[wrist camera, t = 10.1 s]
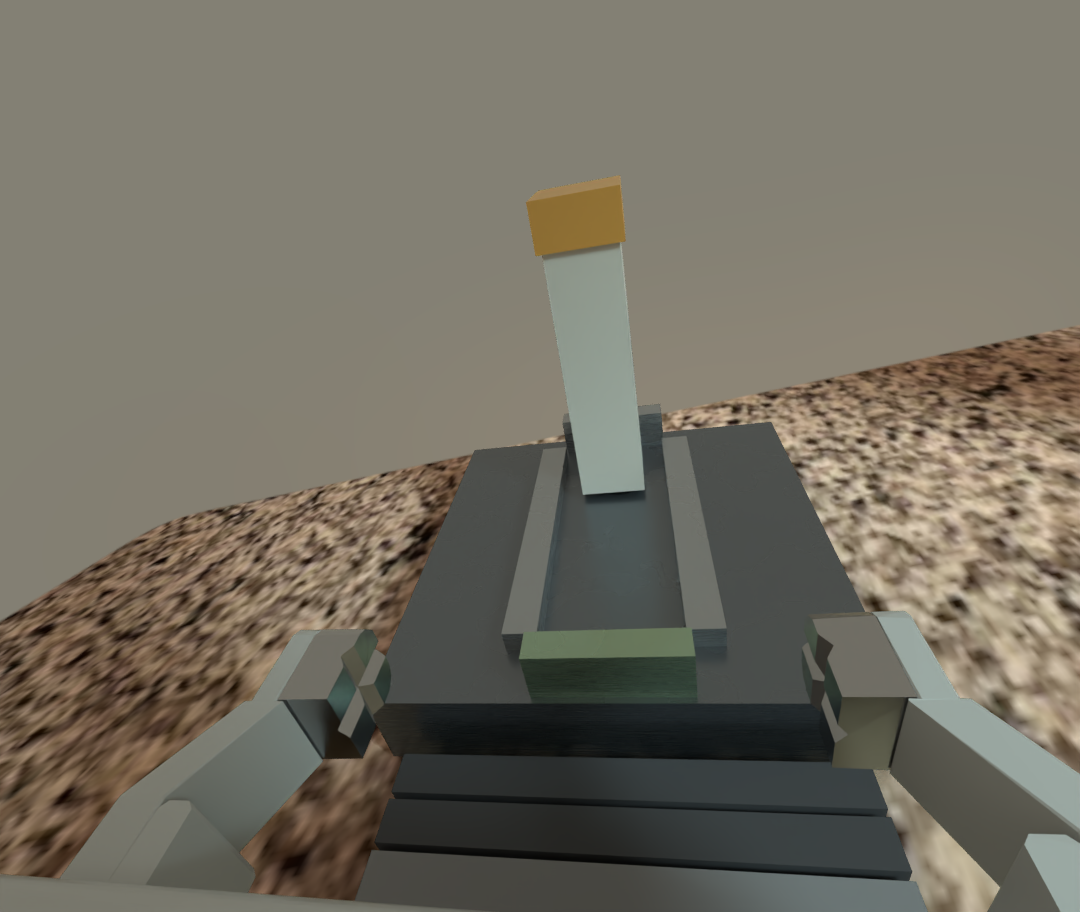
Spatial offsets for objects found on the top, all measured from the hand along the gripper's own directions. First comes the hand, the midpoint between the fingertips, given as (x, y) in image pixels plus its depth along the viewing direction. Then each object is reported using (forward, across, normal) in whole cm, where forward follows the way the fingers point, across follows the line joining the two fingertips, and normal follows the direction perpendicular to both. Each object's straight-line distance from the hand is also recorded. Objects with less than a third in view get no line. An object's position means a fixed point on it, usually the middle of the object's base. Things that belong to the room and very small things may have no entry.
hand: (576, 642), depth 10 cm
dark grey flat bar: (+1, 0, +9) cm, 9 cm away
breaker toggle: (+15, 0, +6) cm, 16 cm away
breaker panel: (+11, 0, +9) cm, 15 cm away
